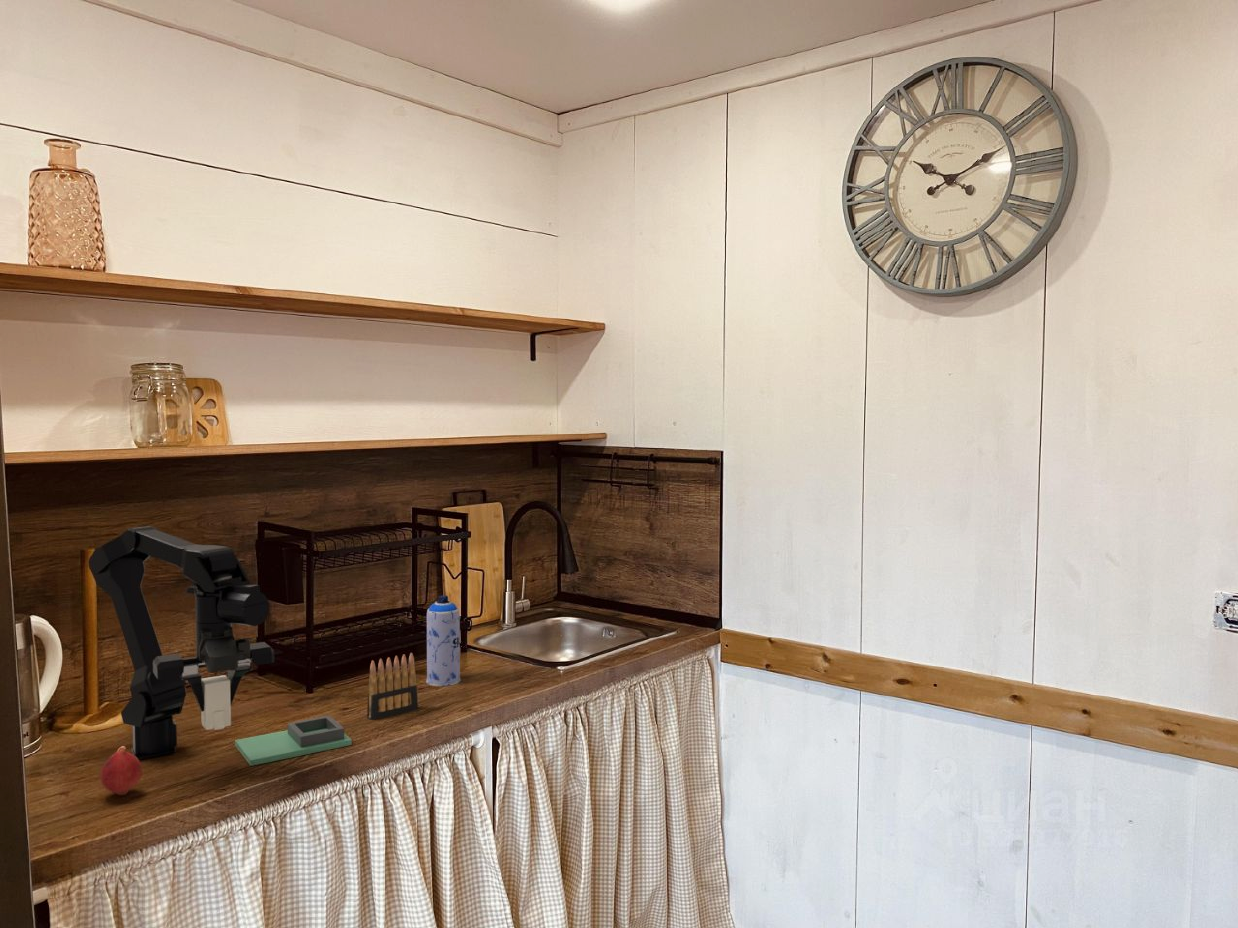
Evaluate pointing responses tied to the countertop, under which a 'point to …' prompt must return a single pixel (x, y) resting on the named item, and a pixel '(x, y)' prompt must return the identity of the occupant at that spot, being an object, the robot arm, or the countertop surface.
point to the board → (294, 741)
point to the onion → (121, 772)
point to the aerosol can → (443, 643)
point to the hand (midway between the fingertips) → (215, 708)
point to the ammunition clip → (392, 689)
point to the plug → (216, 702)
